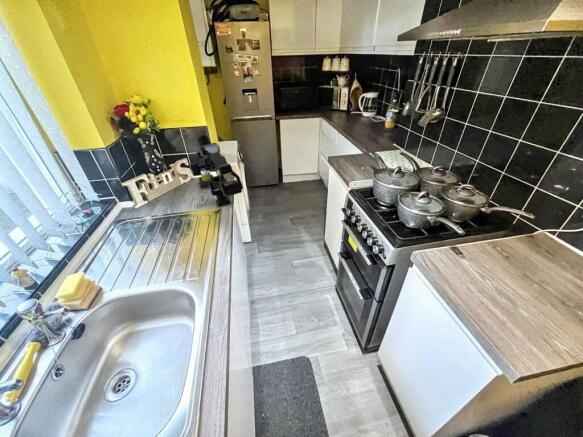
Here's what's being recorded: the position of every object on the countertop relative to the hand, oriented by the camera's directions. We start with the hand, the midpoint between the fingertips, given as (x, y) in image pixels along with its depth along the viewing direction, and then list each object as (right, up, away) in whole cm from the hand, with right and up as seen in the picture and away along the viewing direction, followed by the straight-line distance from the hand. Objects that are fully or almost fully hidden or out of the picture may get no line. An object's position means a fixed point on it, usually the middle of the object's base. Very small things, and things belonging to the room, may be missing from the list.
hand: (208, 172), depth 136 cm
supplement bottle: (-4, -4, +11) cm, 13 cm away
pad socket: (-4, -5, +12) cm, 13 cm away
